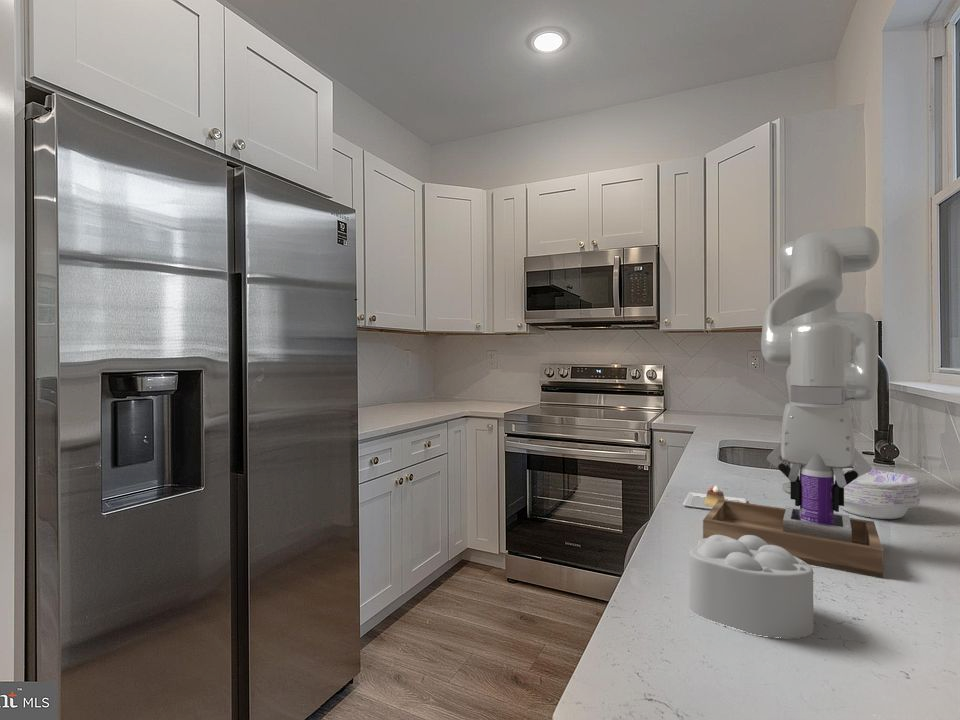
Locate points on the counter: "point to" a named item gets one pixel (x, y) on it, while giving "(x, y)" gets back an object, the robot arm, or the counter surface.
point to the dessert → (709, 498)
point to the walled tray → (798, 537)
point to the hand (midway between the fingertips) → (816, 505)
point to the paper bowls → (881, 494)
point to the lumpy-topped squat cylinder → (751, 586)
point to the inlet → (818, 526)
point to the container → (816, 491)
